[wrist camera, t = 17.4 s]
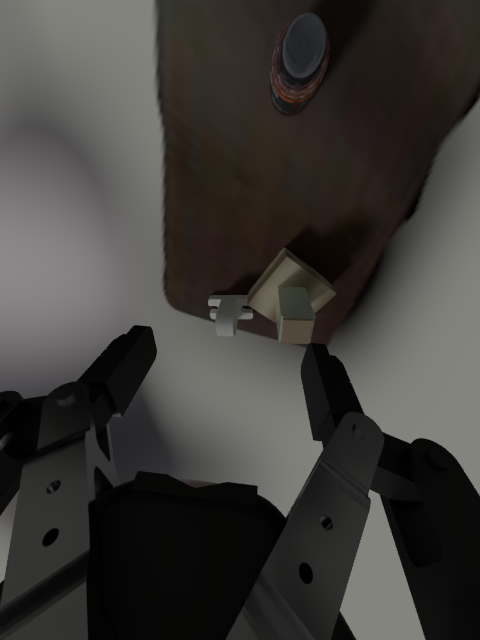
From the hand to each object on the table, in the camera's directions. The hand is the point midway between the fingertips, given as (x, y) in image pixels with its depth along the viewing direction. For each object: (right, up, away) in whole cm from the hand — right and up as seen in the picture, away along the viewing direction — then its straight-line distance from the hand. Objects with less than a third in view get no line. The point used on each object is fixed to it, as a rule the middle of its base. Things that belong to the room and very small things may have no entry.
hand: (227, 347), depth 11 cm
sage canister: (+10, +6, +30) cm, 32 cm away
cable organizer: (-1, +5, +39) cm, 39 cm away
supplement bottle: (+8, +33, +18) cm, 39 cm away
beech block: (+11, +9, +35) cm, 38 cm away
